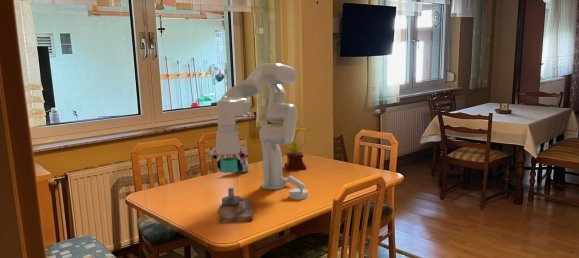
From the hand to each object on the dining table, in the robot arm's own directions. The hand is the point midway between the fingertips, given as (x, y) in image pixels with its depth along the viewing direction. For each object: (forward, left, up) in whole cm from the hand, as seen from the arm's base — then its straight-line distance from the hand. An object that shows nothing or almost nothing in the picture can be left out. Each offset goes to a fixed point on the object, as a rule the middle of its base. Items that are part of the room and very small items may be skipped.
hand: (229, 168), depth 194 cm
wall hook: (-30, -10, -18) cm, 37 cm away
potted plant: (-35, -62, -18) cm, 73 cm away
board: (-2, +6, -18) cm, 19 cm away
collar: (0, 0, -1) cm, 1 cm away
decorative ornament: (-4, -59, -18) cm, 62 cm away
